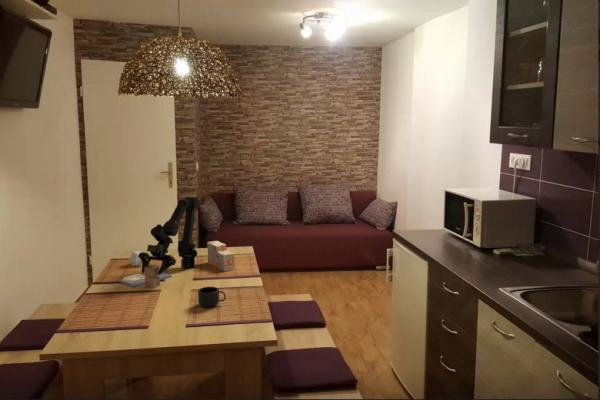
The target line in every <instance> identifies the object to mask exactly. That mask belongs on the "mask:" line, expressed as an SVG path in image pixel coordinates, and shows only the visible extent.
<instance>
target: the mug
mask: <svg viewBox="0 0 600 400" xmlns="http://www.w3.org/2000/svg"><path fill="white" fill-rule="evenodd" d="M220 293H222V294H223V299H220ZM197 298H198V299H197V301H198V304H199V306H201V307H203V308H213V307H215V306H217V305H218V304H219V302H224V301H225V300H227V299H226V293H225V292H224V291H223V290H220V289H219V288H218V287H217V286H204V287H201V288H199V289H198V290H197Z"/></svg>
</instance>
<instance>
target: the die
mask: <svg viewBox="0 0 600 400" xmlns="http://www.w3.org/2000/svg"><path fill="white" fill-rule="evenodd" d="M140 252H143V251H141V250H140V251H139V250H137V251H132V252H131V253H130V255H129V258H128V260H129V262H130V264H131V266H132V267H142V260H141V259H140V258H139V257H138V255H139V253H140Z"/></svg>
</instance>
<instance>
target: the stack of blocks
mask: <svg viewBox="0 0 600 400" xmlns="http://www.w3.org/2000/svg"><path fill="white" fill-rule="evenodd" d="M206 244H207V248H206V249H207V263H208V264H210V265H212V266H213V267H215V268H218V269H219V270H220V271H222V272H229V271H234V269H235V261H234V260H235V253H233V252H231V251H230V250H228V249H227V244H225V243H223V242H220V241H219V240H213V241H212V240H211V241H208V242H207V243H206Z"/></svg>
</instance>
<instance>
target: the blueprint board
mask: <svg viewBox="0 0 600 400" xmlns="http://www.w3.org/2000/svg"><path fill="white" fill-rule="evenodd" d="M170 278H173V276H172V275H171V274H169V273H165V272H163V273H161V274H160V281H162V280H166V279H170ZM118 283H121V284H123V285H126V286H129V287H132V288H138V287H141V286H144V285H145V272H144V273H141V274H138V273H136V274H132V275H129V276H128V275H127V276H125V277H122V279H119V280H118Z"/></svg>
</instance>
